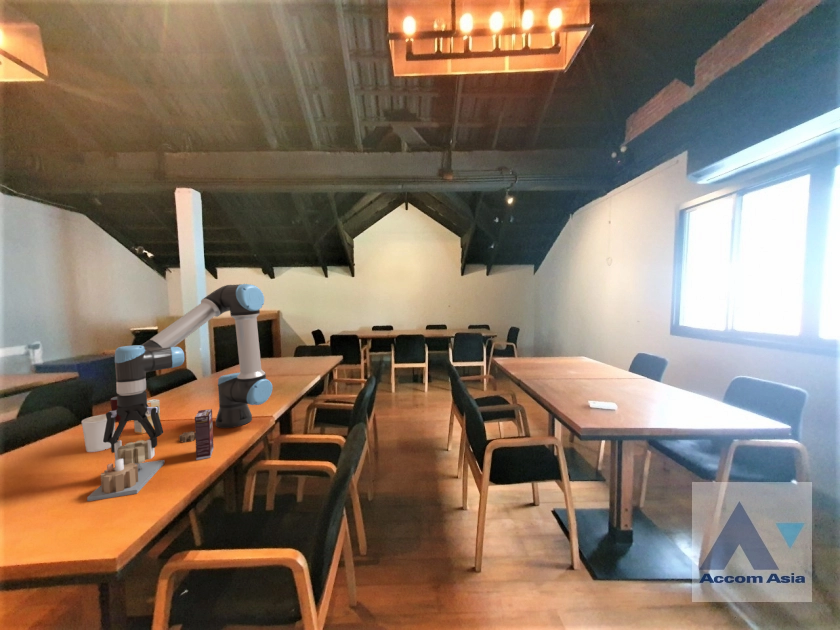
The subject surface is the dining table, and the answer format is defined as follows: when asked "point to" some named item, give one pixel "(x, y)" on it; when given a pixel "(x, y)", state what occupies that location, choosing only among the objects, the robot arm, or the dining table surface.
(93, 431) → the candle holder
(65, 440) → the dining table surface
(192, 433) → the gear
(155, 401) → the supplement box
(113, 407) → the mug
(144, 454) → the maple gear
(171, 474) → the dining table surface
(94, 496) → the gear board
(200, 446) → the supplement box
